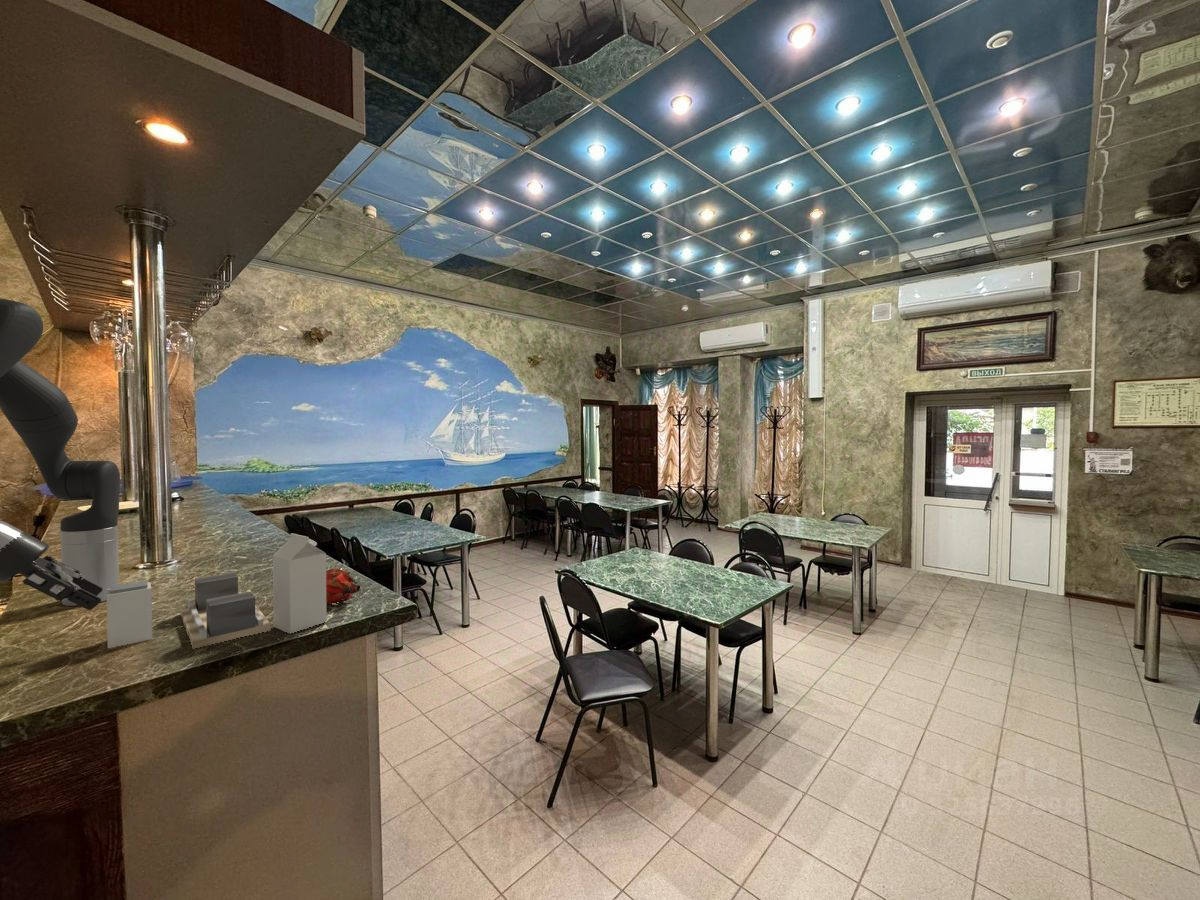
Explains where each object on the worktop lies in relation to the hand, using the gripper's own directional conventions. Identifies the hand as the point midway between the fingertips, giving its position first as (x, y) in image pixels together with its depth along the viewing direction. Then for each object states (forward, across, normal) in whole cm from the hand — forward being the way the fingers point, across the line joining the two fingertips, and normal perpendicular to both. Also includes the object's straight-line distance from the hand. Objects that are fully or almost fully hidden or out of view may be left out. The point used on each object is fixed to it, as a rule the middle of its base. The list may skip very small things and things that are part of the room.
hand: (97, 599), depth 88 cm
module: (+9, 0, +3) cm, 10 cm away
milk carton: (+27, -15, -14) cm, 34 cm away
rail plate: (+19, -2, -7) cm, 20 cm away
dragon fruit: (+34, -5, -21) cm, 41 cm away
